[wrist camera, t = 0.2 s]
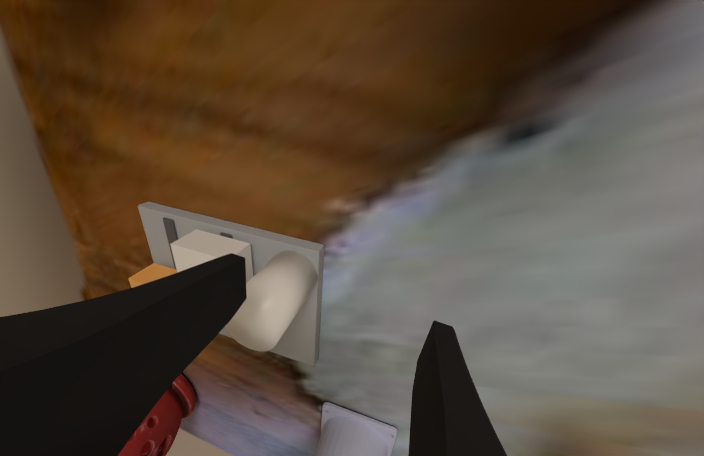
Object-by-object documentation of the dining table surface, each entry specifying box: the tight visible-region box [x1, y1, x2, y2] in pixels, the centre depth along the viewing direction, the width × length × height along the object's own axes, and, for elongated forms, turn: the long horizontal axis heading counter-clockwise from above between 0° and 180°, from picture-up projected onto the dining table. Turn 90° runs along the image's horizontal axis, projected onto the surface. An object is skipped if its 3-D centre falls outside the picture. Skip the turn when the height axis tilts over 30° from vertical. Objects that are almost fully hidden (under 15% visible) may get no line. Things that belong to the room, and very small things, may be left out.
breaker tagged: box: [128, 263, 177, 288], centre depth 26 cm, size 5×5×2 cm
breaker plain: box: [170, 229, 253, 283], centre depth 22 cm, size 5×5×2 cm
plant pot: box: [118, 373, 195, 456], centre depth 34 cm, size 13×13×12 cm
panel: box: [138, 202, 324, 367], centre depth 26 cm, size 13×17×1 cm
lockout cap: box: [224, 250, 318, 351], centre depth 20 cm, size 4×4×6 cm
